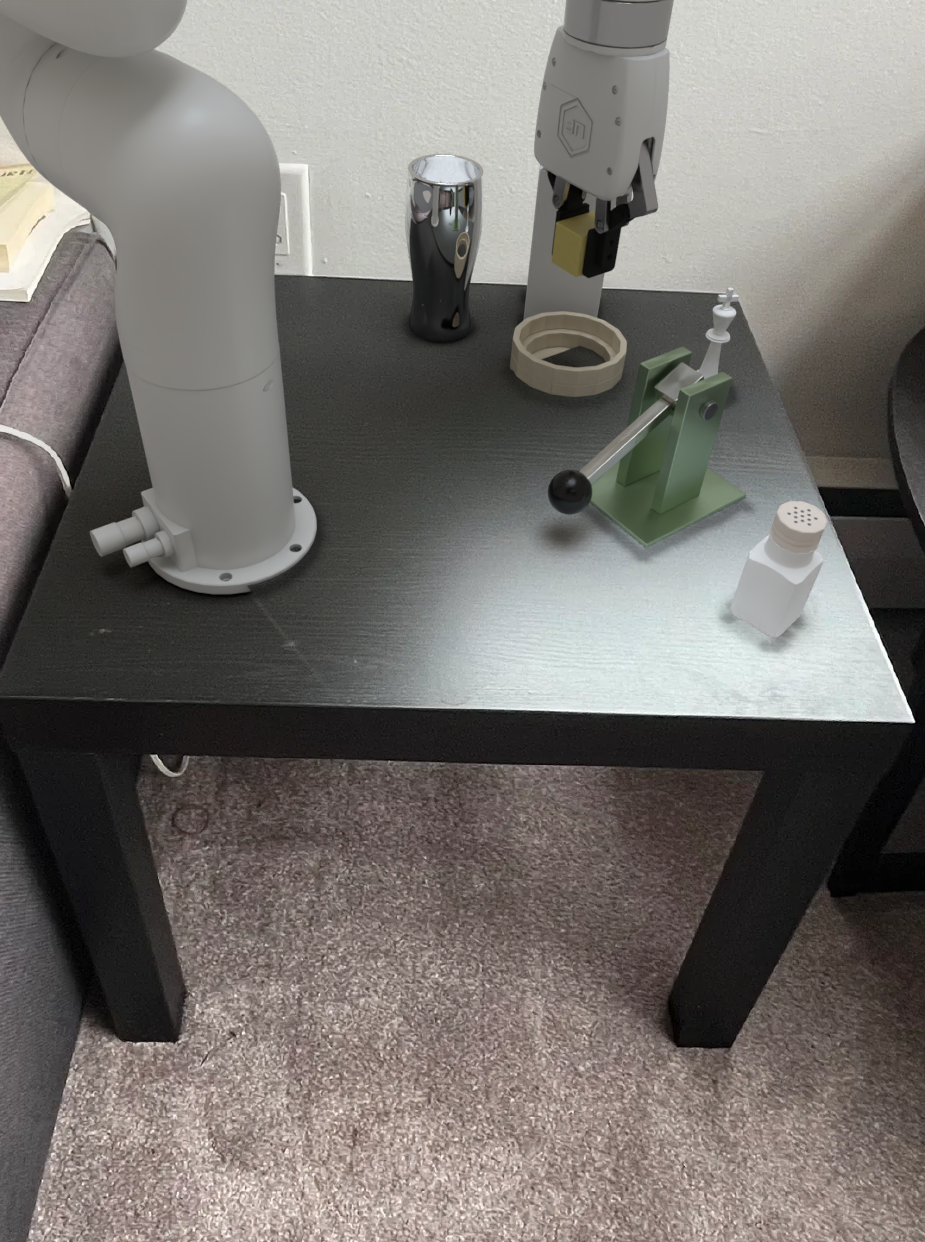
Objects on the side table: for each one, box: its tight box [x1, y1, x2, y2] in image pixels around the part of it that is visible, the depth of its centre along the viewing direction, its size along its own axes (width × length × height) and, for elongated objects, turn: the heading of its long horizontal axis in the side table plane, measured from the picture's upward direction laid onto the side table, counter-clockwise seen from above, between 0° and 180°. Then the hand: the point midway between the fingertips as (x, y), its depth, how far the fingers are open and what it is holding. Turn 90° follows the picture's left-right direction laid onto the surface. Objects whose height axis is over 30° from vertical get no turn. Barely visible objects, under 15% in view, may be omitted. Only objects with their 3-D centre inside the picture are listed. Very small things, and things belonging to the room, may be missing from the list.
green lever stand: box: [589, 346, 747, 549], centre depth 74 cm, size 11×9×12 cm
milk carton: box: [522, 164, 616, 321], centre depth 92 cm, size 7×7×19 cm
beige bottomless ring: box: [509, 311, 628, 398], centre depth 89 cm, size 10×10×4 cm
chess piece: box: [695, 287, 740, 379], centre depth 86 cm, size 5×5×10 cm
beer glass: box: [404, 153, 484, 343], centre depth 90 cm, size 7×7×15 cm
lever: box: [547, 362, 704, 516], centre depth 71 cm, size 14×3×3 cm, turn 127°
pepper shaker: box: [728, 500, 829, 639], centre depth 66 cm, size 4×4×10 cm
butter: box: [552, 211, 595, 277], centre depth 82 cm, size 4×3×4 cm
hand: (582, 261), depth 83 cm, fingers closed on butter, 3 cm apart
